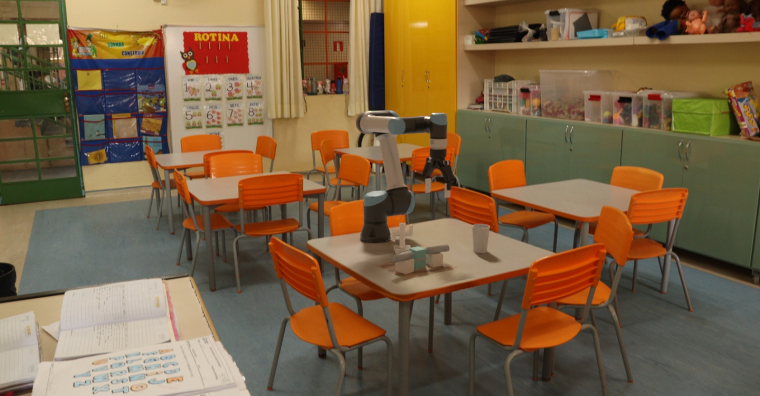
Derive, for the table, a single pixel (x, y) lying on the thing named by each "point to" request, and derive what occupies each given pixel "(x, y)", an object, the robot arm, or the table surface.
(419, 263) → the block
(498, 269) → the table surface
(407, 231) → the figurine
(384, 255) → the table surface
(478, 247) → the cup
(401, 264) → the shaft
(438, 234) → the table surface
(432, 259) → the shaft
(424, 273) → the brown flat board
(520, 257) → the table surface
